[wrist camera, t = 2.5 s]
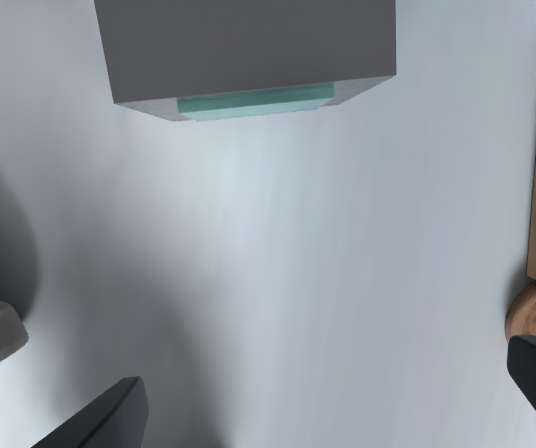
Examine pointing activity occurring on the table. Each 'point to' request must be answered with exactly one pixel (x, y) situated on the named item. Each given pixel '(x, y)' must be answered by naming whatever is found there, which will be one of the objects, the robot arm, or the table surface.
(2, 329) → the pipe fitting
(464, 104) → the table surface
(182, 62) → the box
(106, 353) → the table surface
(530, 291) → the copper dome
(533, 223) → the board
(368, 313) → the table surface
